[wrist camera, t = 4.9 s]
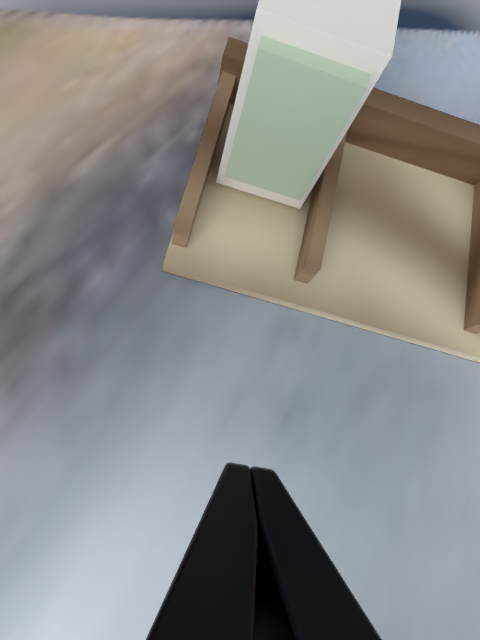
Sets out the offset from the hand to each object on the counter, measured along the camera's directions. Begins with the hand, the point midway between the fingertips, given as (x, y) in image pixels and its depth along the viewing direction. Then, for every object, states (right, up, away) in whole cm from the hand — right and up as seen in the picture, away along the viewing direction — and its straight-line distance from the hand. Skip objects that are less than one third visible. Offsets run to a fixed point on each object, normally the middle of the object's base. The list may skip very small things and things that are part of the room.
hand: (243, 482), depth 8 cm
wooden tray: (+7, +7, +13) cm, 16 cm away
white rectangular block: (+1, +10, +12) cm, 16 cm away
